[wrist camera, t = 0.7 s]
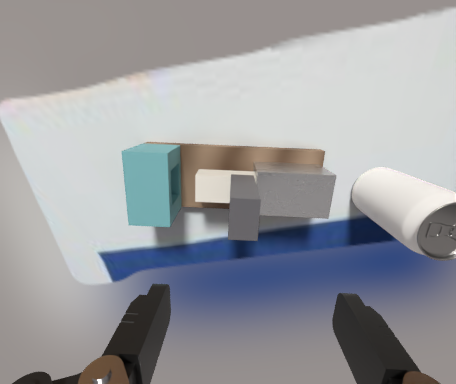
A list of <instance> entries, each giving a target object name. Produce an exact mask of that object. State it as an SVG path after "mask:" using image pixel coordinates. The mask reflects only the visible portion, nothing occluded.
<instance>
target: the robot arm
mask: <svg viewBox="0 0 456 384" xmlns="http://www.w3.org/2000/svg"><path fill="white" fill-rule="evenodd" d="M170 313H171V307H170V288H169V285H168V284H152V286H151V288H150V290H149V292H148V294H147V295H139V296H138V297H137V298H136V299H135V300H134V301H133V302H131V304H130V306H129V307H128V309H127V311H126V314H125V315H124V316H123V318H122V320H121V323H120V324H119V326H118V328H117V329H116V331H115V333H114V335H113V337H112V338H111V340H110V342H109V344H108V346H107V348H106V349H105V351H104V353H103V355H102V356H101V357H100V358H98V359H96V360H94V361H93V362H91V363H90V364H89V365H88V366H87V367H86V368H85V369H84V370H83V372H82V373H79V374H77V375H73V376H69V377H66V378H62V379H58V380H54V381H52V380H51V377H50V376H49V374H47V373H45V372H34V373H30V374H28V375H25V376H23V377H22V378H20V379H18V380H17V381H15V382H14V383H12V384H150V382H151V379H152V376H153V373H154V370H155V366H156V363H157V360H158V357H159V354H160V351H161V347H162V344H163V341H164V338H165V335H166V331H167V328H168V325H169V321H170ZM333 330H334V333H335V335H336V337H337V340H338V342H339V344H340V346H341V349H342V351H343V353H344V356H345V358H346V360H347V362H348V364H349V367H350V369H351V371H352V373H353V376H354V378H355V380H356V383H357V384H440V383H439V382H438V381H436V380H435V379H433V378H432V377H430V376H428V375H426V374H424V373H421V372H420V370H419V369H418V367H417V366H416V364H415V363H414V362H413V360H412V359H411V357H410V356H409V355H408V353H407V352H406V350H405V349H404V348H403V346H402V345H401V343H400V342H399V340H398V339H397V338H396V337H395V335H394V333H393V332H392V331H391V329H390V328H388V325H387V324H386V322H385V321H384V319H383V318H382V316H381V315H380V314H378V313H377V312H376V311H375V310H374V309H372V308H371V307H370V306H365V305H364V303H363V302H362V300H361V299H360V297H359V296H358V295H357V294H348V293H339V294H338V296H337V301H336V305H335V310H334V315H333Z"/></svg>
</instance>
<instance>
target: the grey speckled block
mask: <svg viewBox="0 0 456 384" xmlns="http://www.w3.org/2000/svg"><path fill="white" fill-rule="evenodd" d="M253 171H254V172H255V173H256V176H257V178H256V185H257V188H258V191H259V194H260V198H261V206H260V215H262V216H284V217H305V218H327V219H328V218H329V212H330V207H331V201H332V196H333V191H334V185H335V180H336V175H335V174H333V173H332V172H330V171H329V170H327V169H325V168H324V167H322V166H321V165H319V164H299V163H276V162H253Z"/></svg>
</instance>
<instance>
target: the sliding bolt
mask: <svg viewBox="0 0 456 384" xmlns="http://www.w3.org/2000/svg"><path fill="white" fill-rule="evenodd" d="M256 178H257V176H256V173H255V172H254V171H232V170H209V169H199V170H198V172H197V173H196V175H195V202H214V203H230V206H229V230H228V240H250V241H257V240H258V229H259V217H260V206H261V198H260V194H259V191H258V188H257V185H256Z"/></svg>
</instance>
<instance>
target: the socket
mask: <svg viewBox="0 0 456 384" xmlns="http://www.w3.org/2000/svg"><path fill="white" fill-rule="evenodd" d="M122 160H123V171H124V181H125V191H126V202H127V212H128V222H129V225H135V226H157V227H171V225H172V223H173V221H174V219H175V217H176V216H177V214H178V212H179V210H180V208H181V161H180V145H166V144H140V145H138V146H135V147H132V148H129V149H126V150H124V151H122Z"/></svg>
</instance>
